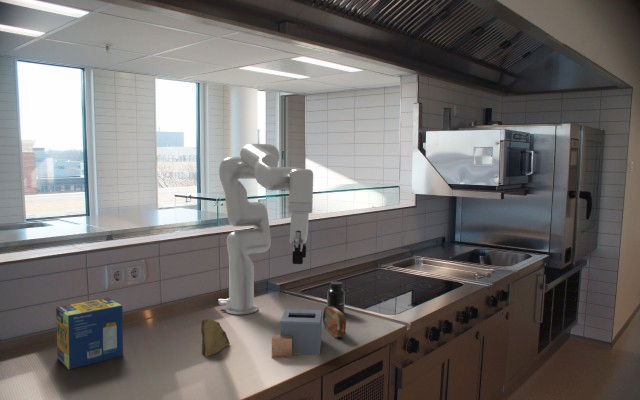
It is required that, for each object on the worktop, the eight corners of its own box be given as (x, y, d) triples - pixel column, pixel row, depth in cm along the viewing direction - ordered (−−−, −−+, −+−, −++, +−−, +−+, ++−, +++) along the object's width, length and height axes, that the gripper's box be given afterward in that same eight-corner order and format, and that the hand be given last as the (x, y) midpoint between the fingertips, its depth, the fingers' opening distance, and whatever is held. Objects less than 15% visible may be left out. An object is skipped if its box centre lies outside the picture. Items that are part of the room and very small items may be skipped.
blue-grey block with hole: (280, 353, 146) (280, 320, 145) (285, 338, 158) (285, 309, 157) (319, 354, 145) (319, 322, 144) (321, 340, 157) (321, 310, 156)
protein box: (56, 359, 139) (55, 306, 138) (110, 345, 150) (109, 297, 149) (68, 370, 132) (67, 315, 130) (124, 355, 142) (123, 304, 141)
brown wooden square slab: (291, 358, 142) (291, 339, 141) (271, 358, 142) (271, 338, 142) (292, 355, 144) (292, 336, 144) (272, 354, 145) (273, 335, 144)
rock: (225, 332, 156) (195, 333, 151) (233, 316, 151) (202, 317, 146) (231, 362, 149) (200, 364, 144) (240, 346, 144) (208, 347, 139)
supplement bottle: (343, 316, 182) (343, 285, 181) (325, 315, 183) (325, 284, 182) (345, 311, 188) (346, 281, 187) (328, 309, 190) (329, 280, 189)
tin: (322, 326, 170) (322, 303, 170) (330, 325, 171) (330, 302, 171) (338, 341, 156) (338, 316, 156) (347, 340, 157) (347, 315, 157)
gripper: (292, 204, 161) (291, 254, 163) (285, 210, 144) (283, 266, 145) (314, 205, 161) (313, 255, 162) (309, 211, 143) (308, 267, 145)
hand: (299, 260), depth 154 cm, fingers open, 9 cm apart
